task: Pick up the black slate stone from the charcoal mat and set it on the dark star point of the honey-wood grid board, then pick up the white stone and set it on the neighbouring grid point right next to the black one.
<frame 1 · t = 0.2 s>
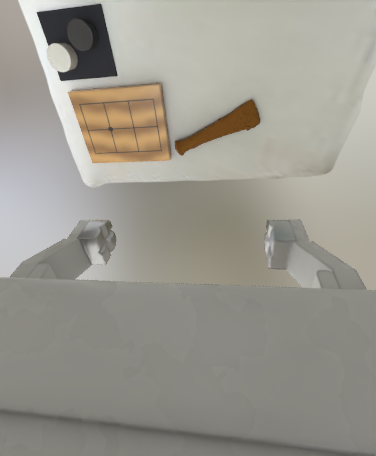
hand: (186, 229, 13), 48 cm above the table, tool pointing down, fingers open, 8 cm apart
go board: (124, 126, 57), on the table
stone mat: (79, 45, 48), on the table
black stone: (86, 34, 47), resting on stone mat
primitive tool: (215, 127, 55), on the table
white stone: (66, 56, 50), resting on stone mat
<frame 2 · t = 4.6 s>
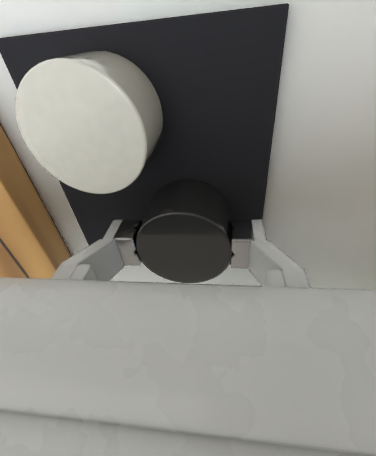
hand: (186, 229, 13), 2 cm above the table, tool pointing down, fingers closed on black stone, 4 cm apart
stone mat: (158, 176, 13), on the table
black stone: (189, 215, 14), resting on stone mat, touching gripper
white stone: (111, 114, 11), resting on stone mat
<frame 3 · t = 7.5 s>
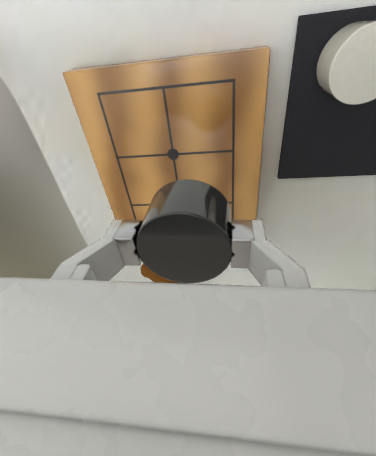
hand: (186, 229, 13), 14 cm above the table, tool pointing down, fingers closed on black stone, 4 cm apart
go board: (179, 172, 26), on the table
stone mat: (356, 105, 20), on the table
black stone: (189, 215, 14), point 12 cm above the table, touching gripper
primitive tool: (187, 292, 39), on the table
white stone: (350, 61, 18), resting on stone mat
when the fingers open (3 cm above the table, at t = 10.4 s): black stone stays where it is, resting on go board.
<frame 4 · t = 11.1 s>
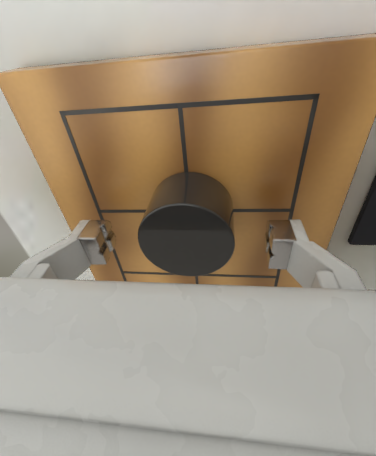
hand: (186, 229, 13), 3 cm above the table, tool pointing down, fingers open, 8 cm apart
go board: (196, 228, 17), on the table
black stone: (191, 208, 14), point 2 cm above the table, touching go board
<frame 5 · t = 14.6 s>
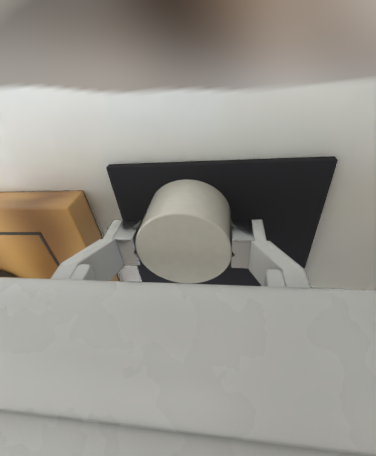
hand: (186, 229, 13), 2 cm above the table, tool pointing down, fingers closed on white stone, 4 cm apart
go board: (38, 292, 21), on the table
stone mat: (216, 251, 16), on the table
white stone: (189, 215, 14), resting on stone mat, touching gripper
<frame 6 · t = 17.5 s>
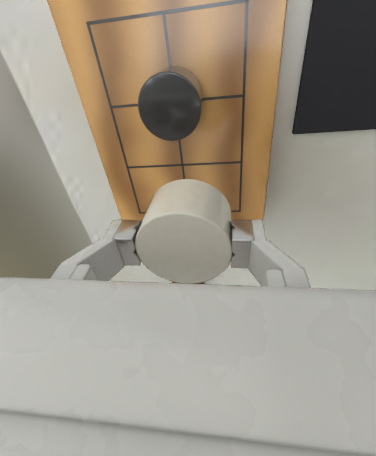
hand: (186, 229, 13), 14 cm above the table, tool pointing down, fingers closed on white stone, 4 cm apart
go board: (181, 129, 23), on the table
black stone: (175, 99, 20), point 2 cm above the table, touching go board
white stone: (189, 215, 14), point 12 cm above the table, touching gripper
when the fingers open (3 cm above the table, at t = 20.5 s): white stone stays where it is, resting on go board.
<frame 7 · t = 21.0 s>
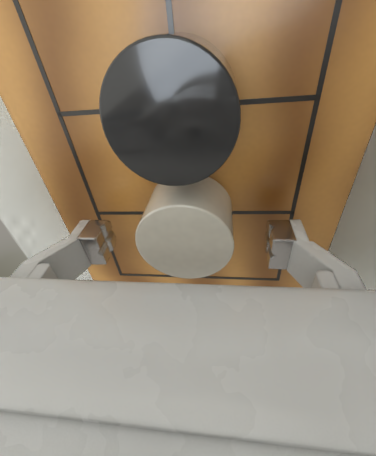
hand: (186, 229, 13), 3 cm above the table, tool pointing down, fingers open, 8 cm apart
go board: (188, 152, 14), on the table
black stone: (180, 102, 10), point 2 cm above the table, touching go board
white stone: (190, 209, 14), point 2 cm above the table, touching go board
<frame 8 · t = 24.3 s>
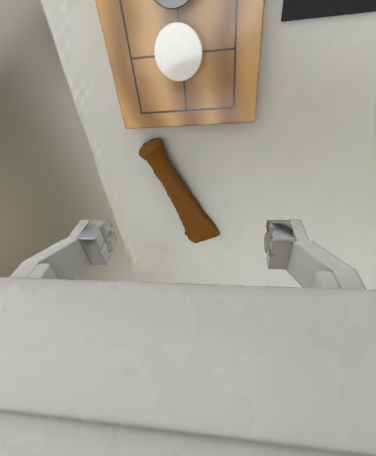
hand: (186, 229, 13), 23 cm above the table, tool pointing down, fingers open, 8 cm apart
go board: (181, 19, 25), on the table
primitive tool: (185, 194, 39), on the table
white stone: (182, 51, 26), point 2 cm above the table, touching go board
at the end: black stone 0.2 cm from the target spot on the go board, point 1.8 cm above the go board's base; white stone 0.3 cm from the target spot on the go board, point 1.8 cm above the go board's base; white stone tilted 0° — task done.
